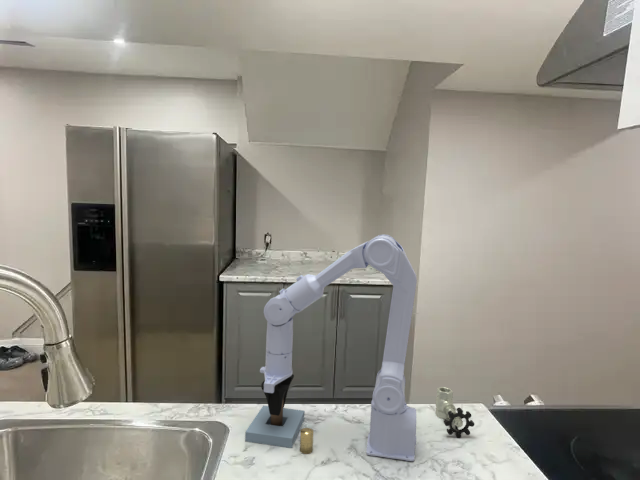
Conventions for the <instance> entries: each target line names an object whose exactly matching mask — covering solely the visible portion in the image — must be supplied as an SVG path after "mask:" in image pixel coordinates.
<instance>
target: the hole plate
mask: <svg viewBox="0 0 640 480" xmlns="http://www.w3.org/2000/svg"><path fill="white" fill-rule="evenodd" d="M305 415H306V413H305V410H301V409H294V408H285V407H284V408H283V423H282V425H281V426H275V425H271V415H270V412H269V408H268V405H265V404H263V405H262V406H261V408H260V410H259V411H258V413H257V414H256V415H255V417H254V419H253V420H252V421H251V423H250V424H249V425H248V427H247V429H246V430H245V434H244V435H245V436H244V437H245V438H244V439H245V442H249V443H254V444H262V445H268V446H269V445H270V446H277V447H283V448H289V449H292V448H293V446H294V444H295V442H296V440H297V437H298V435H299V432H300V431H301V429H302V425H303V423H304V421H305Z"/></svg>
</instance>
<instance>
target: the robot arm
mask: <svg viewBox="0 0 640 480" xmlns="http://www.w3.org/2000/svg"><path fill="white" fill-rule="evenodd" d="M369 265H370V267H372V268H373V269H375V270H376V271H378V272H380V273H382V274H383V276H384V277H385V278H386V279H387V280H388V281H389V282H390V284H392V292H391V300H390V305H389V306H390V307H389V311H388V312H389V315H388V322H387V328H386V336H385V342H384V349H383V356H382V362H381V367H380V370H378V372H377V375H376V376H375V377H376V378H375V385H374V389H373V392H372V400H371V402H370V404H371V405H370V420H369V421H370V423H369V424H370V425H369V432H368V434H367V443H366V450H365V453H366V455H367V456H372V457H373V456H374V457H379V458H380V457H381V458H387V459H393V460H400V461H407V462H414V461H415V454H416V453H415V452H416V445H417V409H416V408H415V407H412V406H408V405H407V402H406V395H405V388H406V377H405V374H404V373H405V363H406V358H407V357H406V356H407V351H408V344H409V343H408V342H409V336H410V329H411V323H412V315H413V310H414V304H415V303H414V302H415V295H416V288H417V282H418V281H417V280H418V279H417V273H416V272H415V270H414V267H413V265H412V263H411V262H410V260H409V258H408V256H407V253H406V251H405V249H404V248H403V246H402V244H400V242H398V241H397V240H396V239H395V238H394V237H393V236H391V235H389V234H379V235H377V236H375V237H373V238H371V239H370V240H367V241H365V242H363V243H361V244H359V245H357V246H356V247H354V248H352V249H350V250H348V251H346V252H345V253H344V254H343V255H341V256H339V258H337V259H336V260H335V261H333V262H332V263H331V264H330V265H328V266H326V268H324V269H322V271H320V272H319V273H317V274H311V273H310V274H309V273H307V274H305V275H303V274H300V275H299V276H298V277H296V278H295V279H296V281H295V282H294V283H292V284H291V285H290V286H288V287H287V288H286V289H285V288H283V287H282V289H281V290H279V294H277V295H276V296H274V297H271V298H270V299H269V300H268V301H267V302H266V304H265V305H264V307H263V315H264V319H265V320H266V337H265V338H266V339H265V341H266V344H265V366H261V367H260V369H259V373H261V374H264V380H263V381H262V382H261V383H260V385H261V386H260V387H261V388H260V389H261V390H262V392H263V393H264V396H265V398H266V404H267V406H268V408H269V412H270V415H277V416H279V415H280V412H281V408H282V403H283V408H285V404H286V400H287V396H288V392H289V388H290V386H291V383H292V381H293V379H294V377H295V375H294V374H293V365H292V363H293V362H292V361H293V339H294V317H295V315H296V314H299V313H301V312H302V311H304V310H305V309H306V308H308V307H309V306H311V305H312V304H313V303H315V302H317V301H318V300H320V299H321V298H322V297H324V290H325V287H327V286H329V285H330V284H332V283H333V282H334V281H336V280H338V279H339V278H341V277H343V275H346V274H347V273H348V272H351V271H352V270H353V269H366V268H368V267H369Z"/></svg>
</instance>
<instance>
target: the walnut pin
mask: <svg viewBox="0 0 640 480" xmlns="http://www.w3.org/2000/svg"><path fill="white" fill-rule="evenodd" d="M282 423H283V403H282V408H281V412H280V415H279V416H277V415H271V424H270V425H275V426H283V425H282Z"/></svg>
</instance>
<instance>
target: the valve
mask: <svg viewBox="0 0 640 480" xmlns="http://www.w3.org/2000/svg"><path fill="white" fill-rule="evenodd" d="M453 399H454V391H453V390H452V389H451V388H450V387H446V386H439V387H437V388H436V397H435V416H436V417H437V418H438V419H442V420H443V424H444V426H446V427H449V428H446V432H447V434H448V435H449V436H451V435H453V433H454V436H455V437H456V438H457V439H461V438H462V434H463V433H464V434H465V435H466V436H469V435H471V431H470V429H469V427H470V428H471V427H474V426H475V422H474V421H473V419H471V417H472V414H471V412H470V411H468V410H467V411H465V413H464V410H463V409H462V407H457V408H456V406H455V405H454V400H453ZM456 411H457V412H456ZM463 419H465V425H464V422H463ZM453 424H454V427H453ZM463 425H464V427H463V428H461V427H462V426H463ZM459 428H461V429H459Z"/></svg>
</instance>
